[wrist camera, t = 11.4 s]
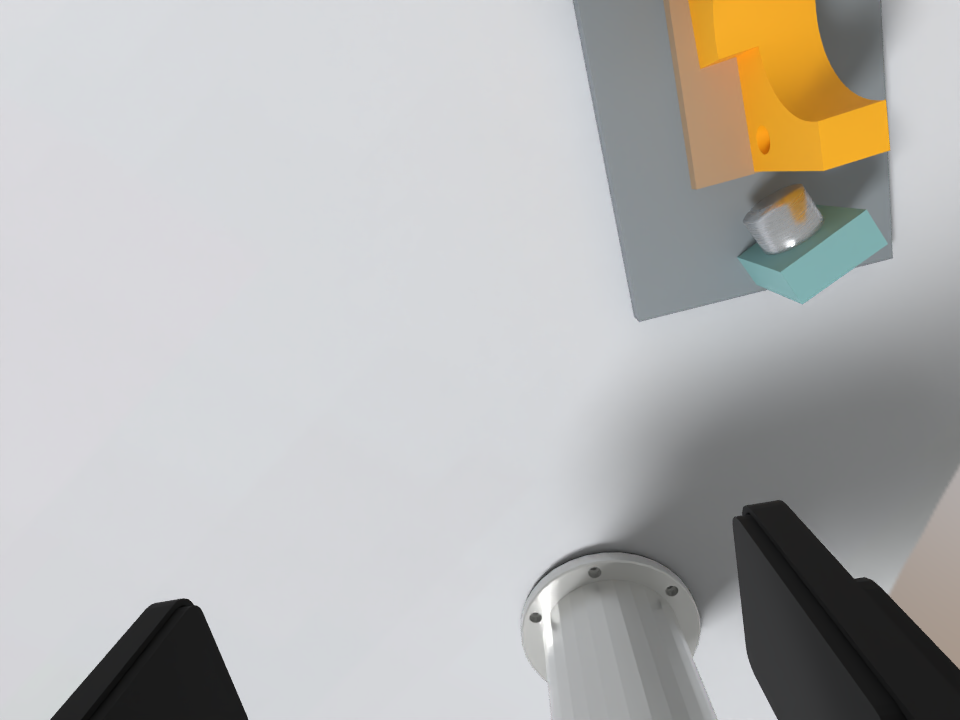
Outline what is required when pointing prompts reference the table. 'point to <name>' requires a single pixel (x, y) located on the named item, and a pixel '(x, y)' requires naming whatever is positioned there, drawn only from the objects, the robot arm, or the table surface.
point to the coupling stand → (720, 159)
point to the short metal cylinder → (784, 219)
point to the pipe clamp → (788, 85)
